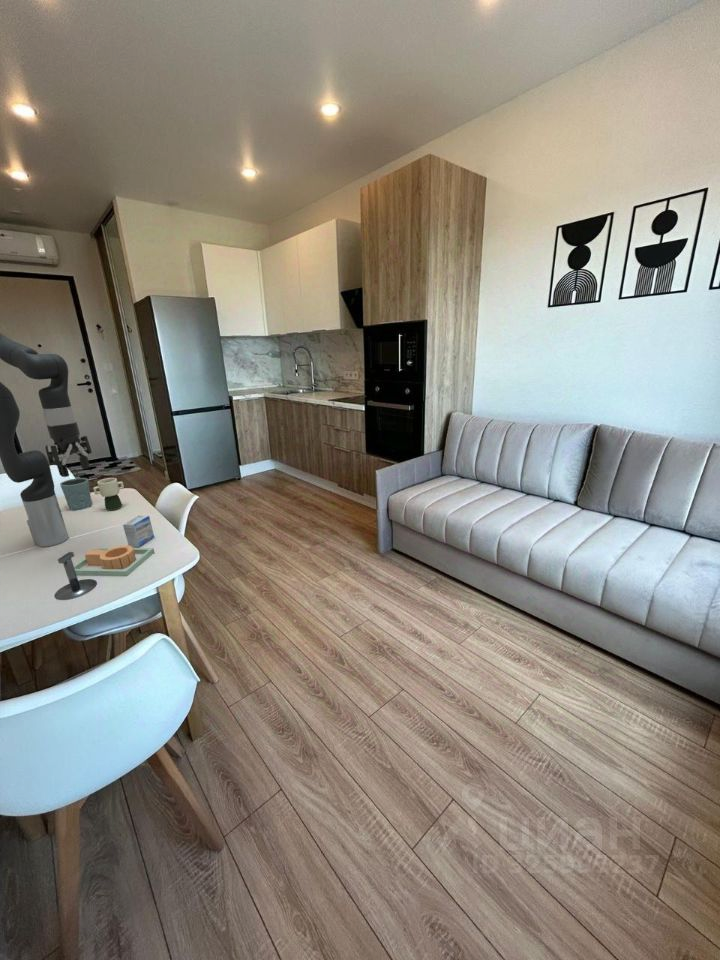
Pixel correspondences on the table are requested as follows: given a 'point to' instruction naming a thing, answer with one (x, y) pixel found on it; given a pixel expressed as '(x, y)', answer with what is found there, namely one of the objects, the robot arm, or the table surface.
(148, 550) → the green rhombus frame
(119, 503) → the character mug
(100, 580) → the table surface
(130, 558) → the ring
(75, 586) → the metal post stand
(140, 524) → the medicine box
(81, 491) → the teal pot
